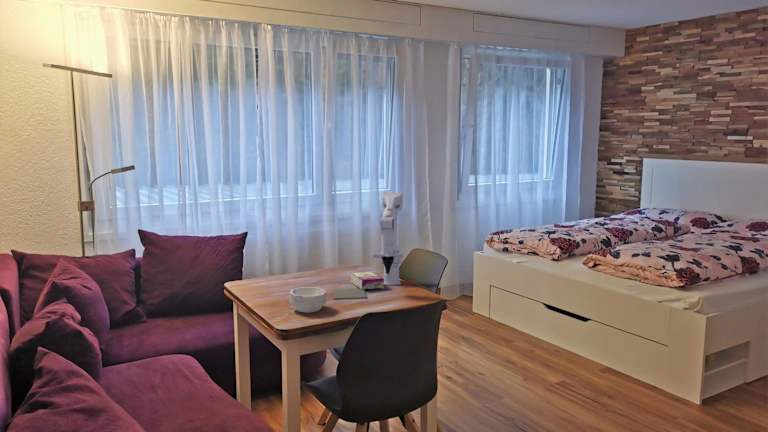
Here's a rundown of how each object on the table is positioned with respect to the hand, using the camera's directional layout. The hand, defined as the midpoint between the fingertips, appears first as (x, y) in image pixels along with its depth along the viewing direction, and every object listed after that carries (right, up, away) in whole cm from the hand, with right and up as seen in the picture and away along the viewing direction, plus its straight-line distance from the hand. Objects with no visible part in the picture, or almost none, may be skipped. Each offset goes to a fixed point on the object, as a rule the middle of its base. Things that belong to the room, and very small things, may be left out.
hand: (387, 273), depth 270 cm
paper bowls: (-33, -13, -23) cm, 42 cm away
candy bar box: (-7, -6, +6) cm, 11 cm away
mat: (-17, -10, -1) cm, 20 cm away
